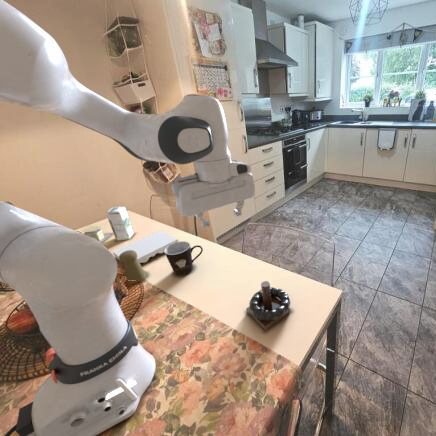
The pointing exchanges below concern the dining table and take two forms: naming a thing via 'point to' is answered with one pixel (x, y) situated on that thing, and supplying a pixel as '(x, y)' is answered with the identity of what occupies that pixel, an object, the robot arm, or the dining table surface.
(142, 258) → the food packaging
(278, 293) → the ring
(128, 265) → the olive flared cylinder
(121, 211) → the syrup box
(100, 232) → the stacked layers on plate
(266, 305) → the peg stand
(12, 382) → the dining table surface
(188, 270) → the coffee mug
